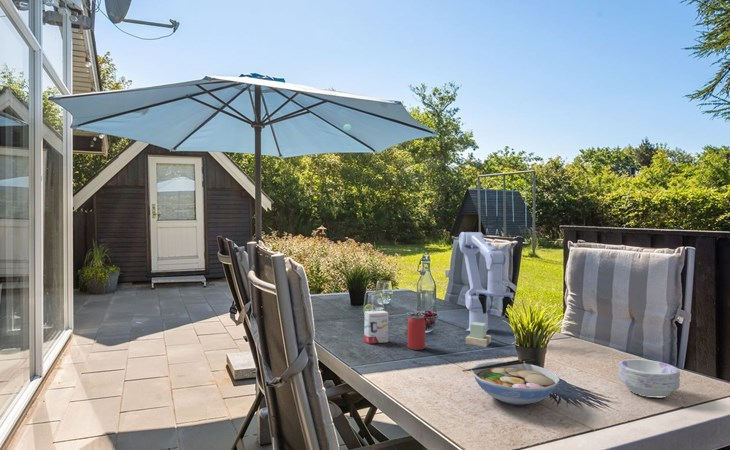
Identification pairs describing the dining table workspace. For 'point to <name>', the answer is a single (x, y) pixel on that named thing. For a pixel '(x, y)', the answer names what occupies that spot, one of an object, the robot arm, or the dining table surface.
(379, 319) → the ink box
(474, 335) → the cube
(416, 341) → the beer can
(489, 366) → the ramen bowl
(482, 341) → the pedestal
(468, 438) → the dining table surface
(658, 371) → the paper bowls
